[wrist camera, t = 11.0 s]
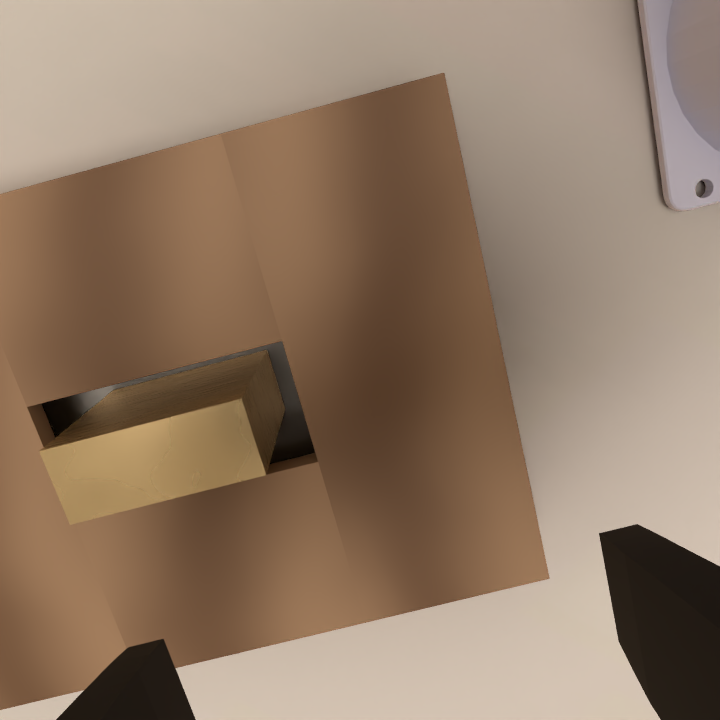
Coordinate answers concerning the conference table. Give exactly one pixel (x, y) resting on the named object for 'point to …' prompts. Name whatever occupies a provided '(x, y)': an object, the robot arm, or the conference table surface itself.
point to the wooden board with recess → (311, 377)
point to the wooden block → (168, 438)
